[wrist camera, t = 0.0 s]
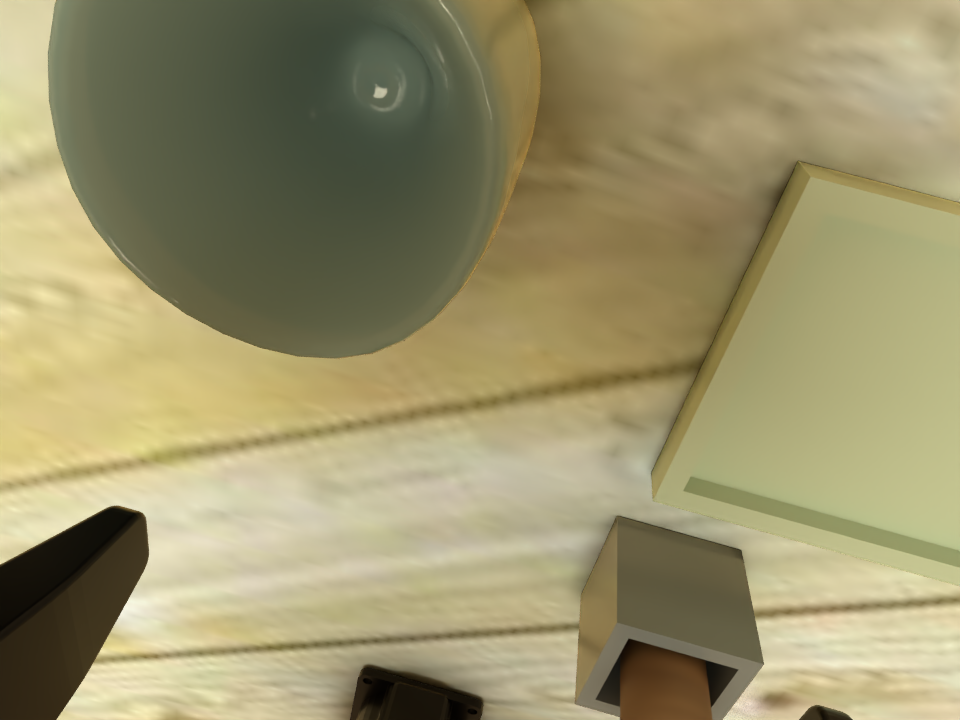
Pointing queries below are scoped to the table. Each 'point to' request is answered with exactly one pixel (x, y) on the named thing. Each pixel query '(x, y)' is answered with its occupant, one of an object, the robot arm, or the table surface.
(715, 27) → the table surface
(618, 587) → the pen cup
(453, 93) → the cup
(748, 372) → the tray
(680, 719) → the dowel
